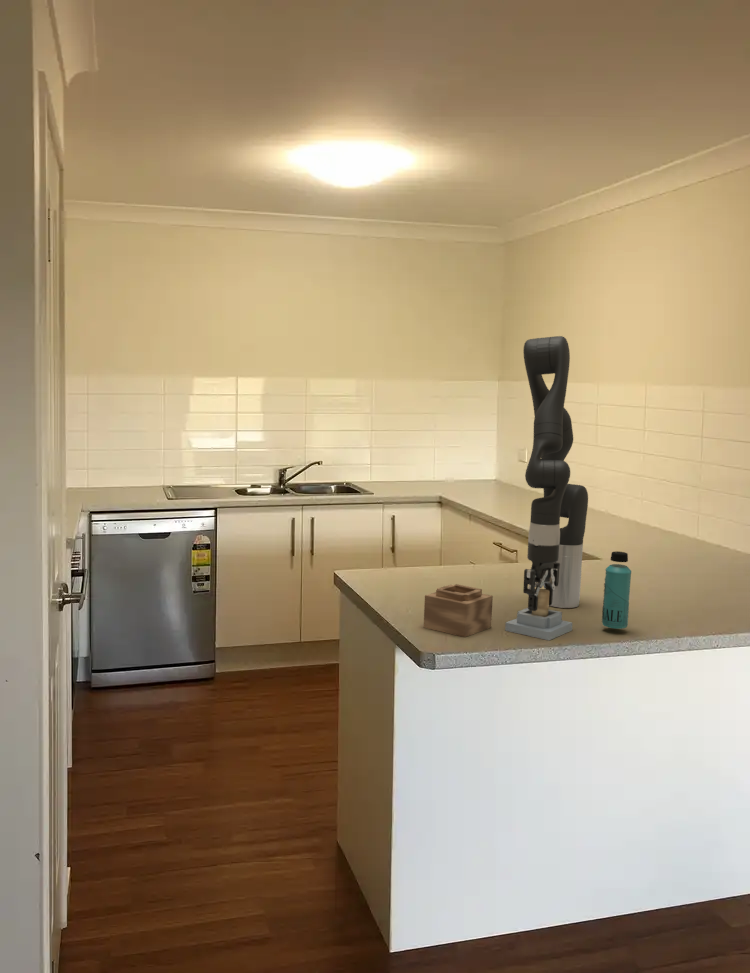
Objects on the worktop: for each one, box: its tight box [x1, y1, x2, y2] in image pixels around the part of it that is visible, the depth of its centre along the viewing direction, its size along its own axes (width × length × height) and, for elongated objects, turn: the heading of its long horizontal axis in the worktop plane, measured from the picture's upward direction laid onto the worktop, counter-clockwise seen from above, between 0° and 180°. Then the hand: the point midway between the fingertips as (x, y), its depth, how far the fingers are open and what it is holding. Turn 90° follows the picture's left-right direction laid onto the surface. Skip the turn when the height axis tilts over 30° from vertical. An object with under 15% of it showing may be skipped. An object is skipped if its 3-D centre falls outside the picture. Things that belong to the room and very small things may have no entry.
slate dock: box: [504, 607, 573, 641], centre depth 235 cm, size 12×12×4 cm
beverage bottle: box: [601, 550, 632, 630], centre depth 236 cm, size 6×7×20 cm
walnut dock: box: [423, 583, 494, 638], centre depth 235 cm, size 12×12×10 cm
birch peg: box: [532, 588, 550, 617], centre depth 235 cm, size 4×4×8 cm
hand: (540, 607), depth 234 cm, fingers open, 7 cm apart
